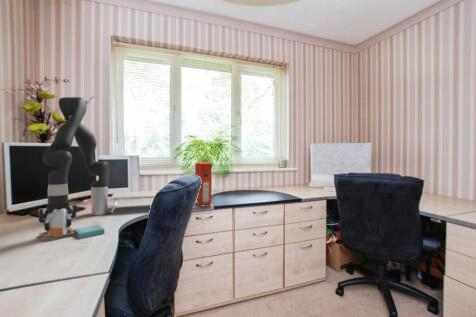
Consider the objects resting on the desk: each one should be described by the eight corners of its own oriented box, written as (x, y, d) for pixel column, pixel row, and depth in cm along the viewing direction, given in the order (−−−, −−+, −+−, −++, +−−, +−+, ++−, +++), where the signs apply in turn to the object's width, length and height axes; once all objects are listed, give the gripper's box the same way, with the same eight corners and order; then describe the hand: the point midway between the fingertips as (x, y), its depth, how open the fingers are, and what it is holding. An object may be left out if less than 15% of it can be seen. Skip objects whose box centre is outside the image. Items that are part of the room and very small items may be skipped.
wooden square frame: (39, 235, 107) (39, 232, 107) (70, 229, 116) (70, 227, 116) (43, 242, 99) (43, 239, 99) (76, 235, 108) (76, 232, 108)
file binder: (200, 206, 173) (201, 163, 172) (194, 201, 188) (195, 162, 188) (211, 205, 176) (211, 163, 176) (204, 201, 192) (204, 162, 192)
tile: (74, 233, 111) (74, 228, 111) (97, 228, 118) (97, 224, 118) (79, 238, 104) (79, 233, 104) (104, 233, 111) (104, 228, 111)
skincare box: (48, 236, 105) (48, 210, 105) (52, 233, 109) (52, 208, 109) (63, 235, 107) (63, 209, 106) (67, 232, 111) (67, 207, 110)
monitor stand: (109, 214, 146) (109, 197, 146) (114, 205, 172) (115, 191, 172) (170, 210, 160) (170, 194, 160) (166, 202, 186) (166, 189, 186)
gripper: (74, 191, 115) (74, 223, 116) (36, 194, 105) (36, 230, 105) (78, 192, 110) (78, 227, 110) (39, 196, 100) (39, 234, 100)
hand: (58, 228), depth 108 cm, fingers closed on skincare box, 7 cm apart
